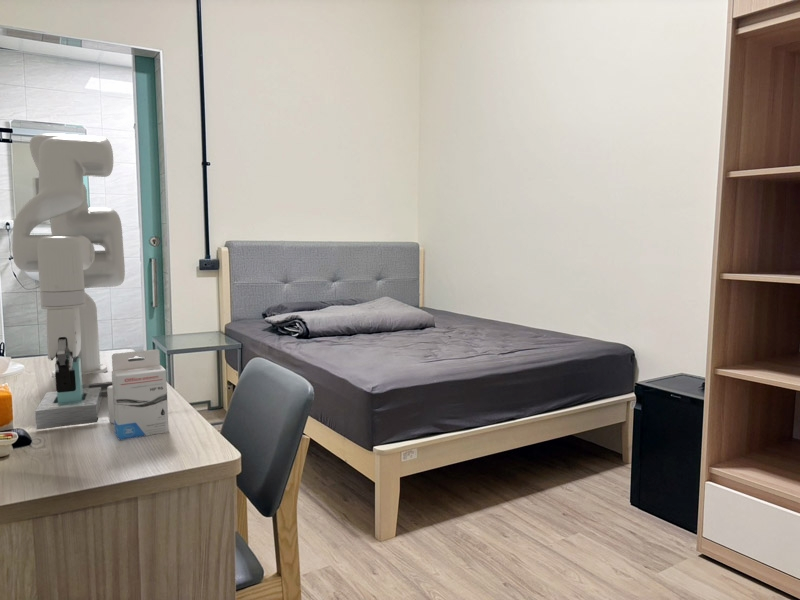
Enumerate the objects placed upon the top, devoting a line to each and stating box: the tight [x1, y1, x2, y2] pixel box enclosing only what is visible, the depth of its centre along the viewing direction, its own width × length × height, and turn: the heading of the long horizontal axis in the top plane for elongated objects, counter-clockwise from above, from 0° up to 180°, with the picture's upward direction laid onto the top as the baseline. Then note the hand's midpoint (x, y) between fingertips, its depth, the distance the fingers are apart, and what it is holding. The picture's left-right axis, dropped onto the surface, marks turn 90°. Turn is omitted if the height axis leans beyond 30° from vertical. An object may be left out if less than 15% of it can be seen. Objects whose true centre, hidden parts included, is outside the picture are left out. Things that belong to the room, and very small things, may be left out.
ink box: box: [111, 348, 170, 441], centre depth 105 cm, size 8×5×15 cm, turn 123°
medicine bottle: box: [107, 357, 145, 425], centre depth 112 cm, size 7×7×12 cm
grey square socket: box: [82, 381, 112, 398], centre depth 130 cm, size 9×9×2 cm
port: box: [34, 387, 103, 430], centre depth 116 cm, size 14×10×4 cm
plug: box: [54, 358, 83, 403], centre depth 116 cm, size 4×4×10 cm
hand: (69, 385), depth 116 cm, fingers open, 9 cm apart
